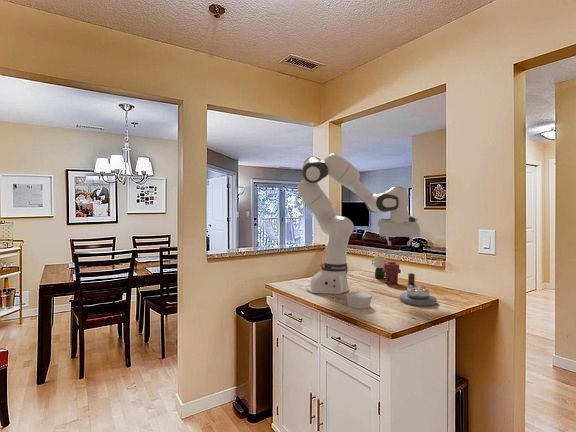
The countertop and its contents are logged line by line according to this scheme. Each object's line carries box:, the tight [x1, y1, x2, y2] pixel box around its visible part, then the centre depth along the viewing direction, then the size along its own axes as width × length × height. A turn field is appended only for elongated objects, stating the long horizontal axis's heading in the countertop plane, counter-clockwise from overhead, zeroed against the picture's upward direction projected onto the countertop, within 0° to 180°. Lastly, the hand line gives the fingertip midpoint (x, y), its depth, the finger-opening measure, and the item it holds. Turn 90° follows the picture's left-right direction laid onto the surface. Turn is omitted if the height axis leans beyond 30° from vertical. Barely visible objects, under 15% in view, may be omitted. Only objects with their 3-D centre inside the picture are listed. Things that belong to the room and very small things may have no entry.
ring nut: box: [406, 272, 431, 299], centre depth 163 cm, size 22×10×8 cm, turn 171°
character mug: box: [371, 255, 390, 279], centre depth 209 cm, size 11×7×13 cm, turn 55°
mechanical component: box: [383, 261, 402, 285], centre depth 195 cm, size 12×10×10 cm
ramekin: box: [345, 291, 373, 310], centre depth 149 cm, size 11×11×5 cm
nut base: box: [399, 292, 438, 307], centre depth 158 cm, size 16×16×2 cm
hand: (399, 245), depth 174 cm, fingers open, 8 cm apart
